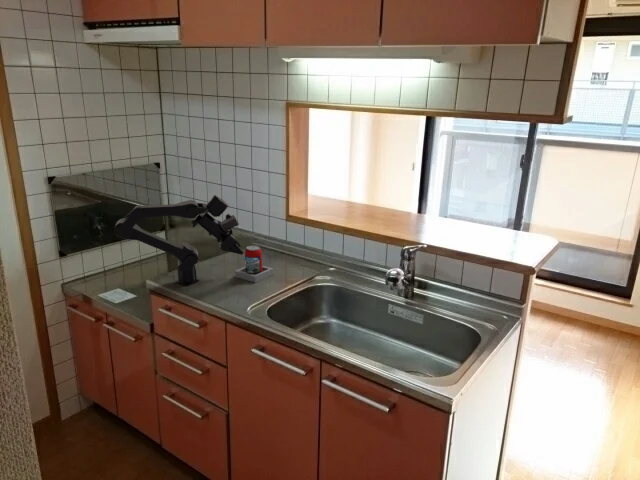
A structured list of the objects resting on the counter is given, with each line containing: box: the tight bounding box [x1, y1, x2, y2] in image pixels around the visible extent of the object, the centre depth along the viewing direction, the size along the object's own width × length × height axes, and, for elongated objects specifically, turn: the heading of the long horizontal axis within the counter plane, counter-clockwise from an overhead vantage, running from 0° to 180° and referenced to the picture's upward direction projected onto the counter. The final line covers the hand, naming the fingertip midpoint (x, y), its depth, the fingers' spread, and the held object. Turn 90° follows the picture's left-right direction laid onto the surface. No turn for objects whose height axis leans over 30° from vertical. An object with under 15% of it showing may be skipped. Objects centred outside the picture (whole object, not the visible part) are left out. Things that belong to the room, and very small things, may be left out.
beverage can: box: [244, 244, 263, 275], centre depth 200 cm, size 7×7×12 cm
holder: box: [234, 265, 274, 284], centre depth 202 cm, size 11×11×2 cm
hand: (241, 250), depth 198 cm, fingers open, 9 cm apart
